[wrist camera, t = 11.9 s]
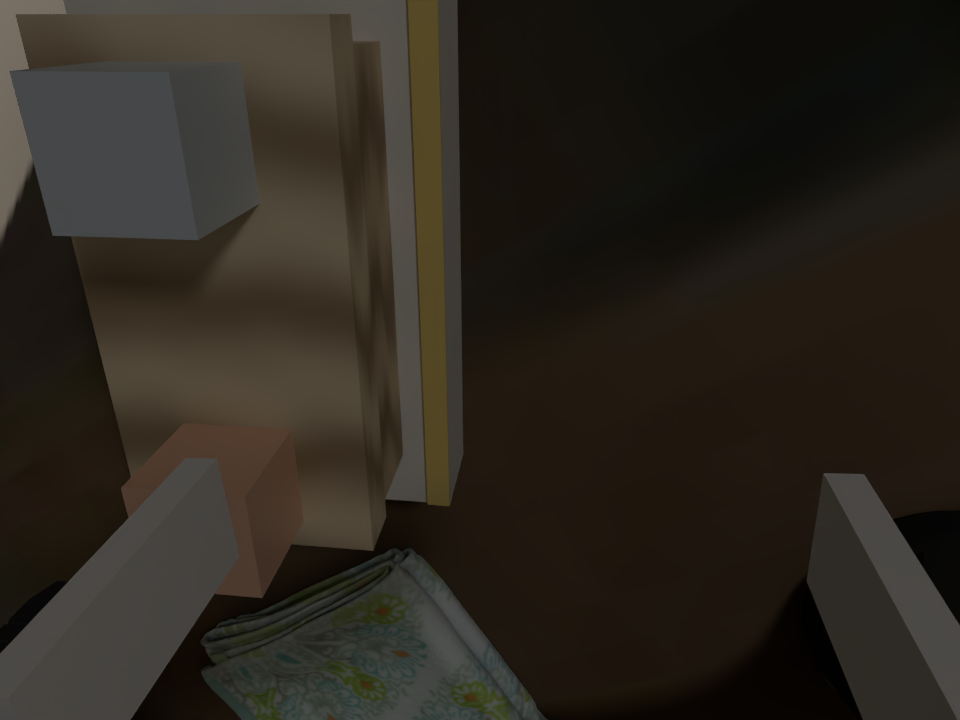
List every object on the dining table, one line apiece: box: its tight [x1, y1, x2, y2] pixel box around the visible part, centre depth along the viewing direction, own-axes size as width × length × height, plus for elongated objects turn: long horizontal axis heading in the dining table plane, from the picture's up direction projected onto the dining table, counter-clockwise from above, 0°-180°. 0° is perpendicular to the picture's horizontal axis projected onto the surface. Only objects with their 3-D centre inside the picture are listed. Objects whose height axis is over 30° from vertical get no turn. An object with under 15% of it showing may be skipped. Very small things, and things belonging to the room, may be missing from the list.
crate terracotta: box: [121, 423, 304, 598], centre depth 30 cm, size 5×5×5 cm
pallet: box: [16, 14, 403, 551], centre depth 32 cm, size 22×11×6 cm, turn 0°
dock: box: [64, 0, 463, 506], centre depth 37 cm, size 26×16×5 cm, turn 0°
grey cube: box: [10, 61, 260, 240], centre depth 24 cm, size 5×5×5 cm
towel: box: [201, 548, 548, 720], centre depth 51 cm, size 18×21×5 cm
